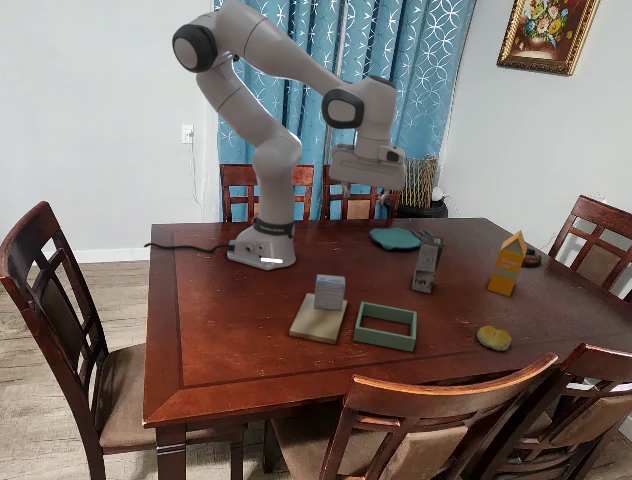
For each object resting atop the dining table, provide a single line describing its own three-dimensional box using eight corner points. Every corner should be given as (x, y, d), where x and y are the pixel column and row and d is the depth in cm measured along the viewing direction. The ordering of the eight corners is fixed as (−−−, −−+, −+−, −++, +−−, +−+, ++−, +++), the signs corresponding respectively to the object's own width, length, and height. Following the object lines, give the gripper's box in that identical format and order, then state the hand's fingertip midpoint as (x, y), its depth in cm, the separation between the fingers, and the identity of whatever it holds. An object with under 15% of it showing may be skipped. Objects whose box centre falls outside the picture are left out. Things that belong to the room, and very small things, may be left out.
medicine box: (341, 303, 126) (345, 276, 121) (341, 311, 122) (345, 284, 118) (313, 300, 125) (316, 273, 121) (313, 308, 122) (316, 281, 117)
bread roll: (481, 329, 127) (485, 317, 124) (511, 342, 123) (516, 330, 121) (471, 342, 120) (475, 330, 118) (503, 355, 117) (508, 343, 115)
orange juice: (513, 286, 153) (533, 232, 142) (509, 296, 146) (531, 240, 135) (490, 279, 155) (509, 226, 145) (486, 289, 148) (505, 234, 138)
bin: (353, 340, 114) (355, 327, 112) (359, 313, 126) (361, 301, 123) (412, 351, 113) (415, 339, 111) (413, 323, 125) (416, 311, 122)
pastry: (524, 253, 180) (529, 240, 177) (543, 267, 171) (549, 253, 168) (502, 254, 177) (507, 240, 173) (520, 268, 167) (526, 254, 164)
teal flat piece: (361, 232, 177) (362, 227, 175) (424, 230, 188) (425, 225, 187) (383, 254, 162) (384, 248, 160) (450, 250, 173) (452, 244, 172)
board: (289, 335, 112) (289, 330, 112) (306, 297, 129) (307, 293, 128) (335, 344, 112) (335, 339, 111) (346, 304, 128) (347, 300, 128)
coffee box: (431, 294, 141) (443, 247, 132) (411, 289, 141) (422, 243, 133) (432, 281, 148) (443, 236, 140) (413, 277, 149) (423, 232, 140)
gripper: (329, 143, 111) (323, 197, 118) (409, 157, 109) (399, 211, 117) (334, 139, 116) (328, 190, 123) (410, 152, 114) (400, 203, 122)
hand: (363, 200), depth 120 cm, fingers open, 8 cm apart
